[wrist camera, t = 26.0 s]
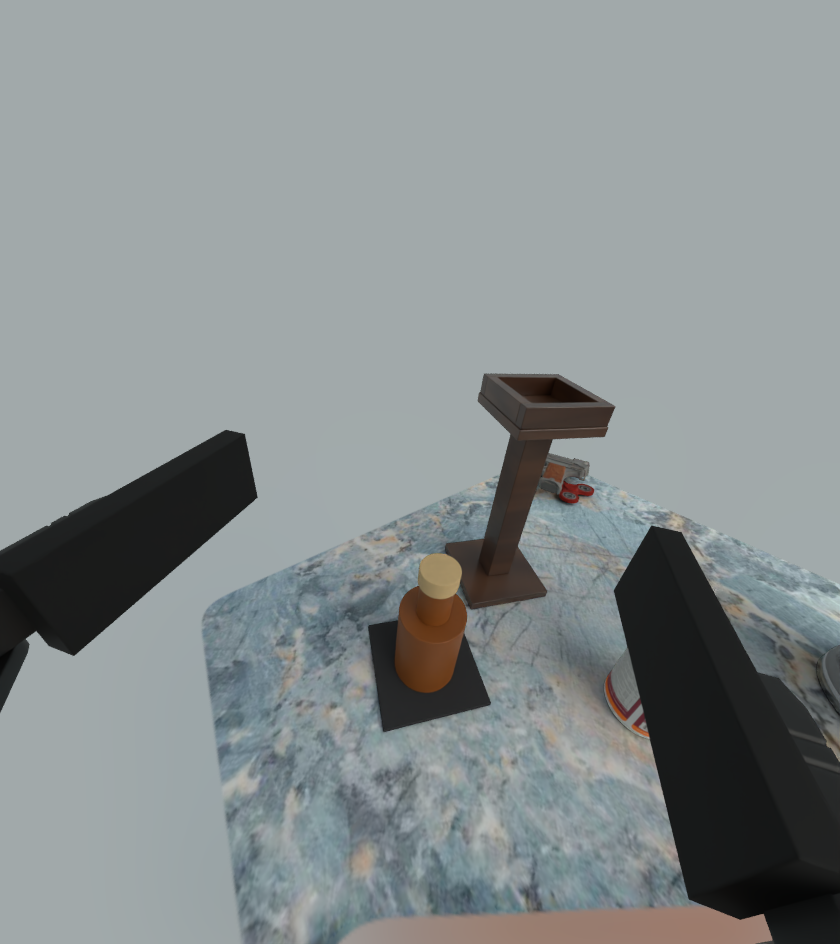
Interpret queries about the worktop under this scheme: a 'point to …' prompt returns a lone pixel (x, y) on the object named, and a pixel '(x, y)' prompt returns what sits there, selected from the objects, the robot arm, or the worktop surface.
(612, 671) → the pill bottle
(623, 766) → the worktop surface
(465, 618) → the bottle
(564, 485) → the fidget spinner
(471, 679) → the mat
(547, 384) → the holder
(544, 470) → the pistol
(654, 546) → the robot arm
